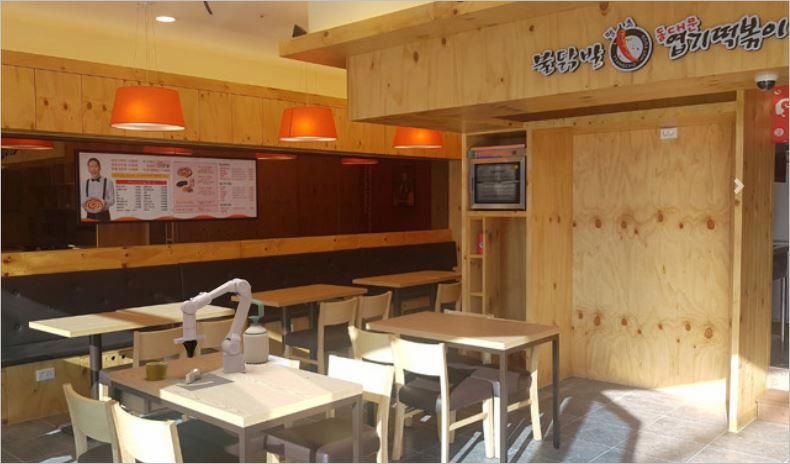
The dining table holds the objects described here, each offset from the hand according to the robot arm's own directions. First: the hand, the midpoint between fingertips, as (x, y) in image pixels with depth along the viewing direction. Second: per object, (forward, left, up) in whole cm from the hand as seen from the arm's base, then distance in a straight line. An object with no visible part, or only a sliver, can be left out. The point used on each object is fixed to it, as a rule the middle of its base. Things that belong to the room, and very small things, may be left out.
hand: (190, 357), depth 318 cm
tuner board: (+1, +12, -10) cm, 15 cm away
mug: (+11, -10, -10) cm, 18 cm away
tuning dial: (+4, +8, -9) cm, 13 cm away
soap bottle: (-39, -8, -10) cm, 41 cm away
